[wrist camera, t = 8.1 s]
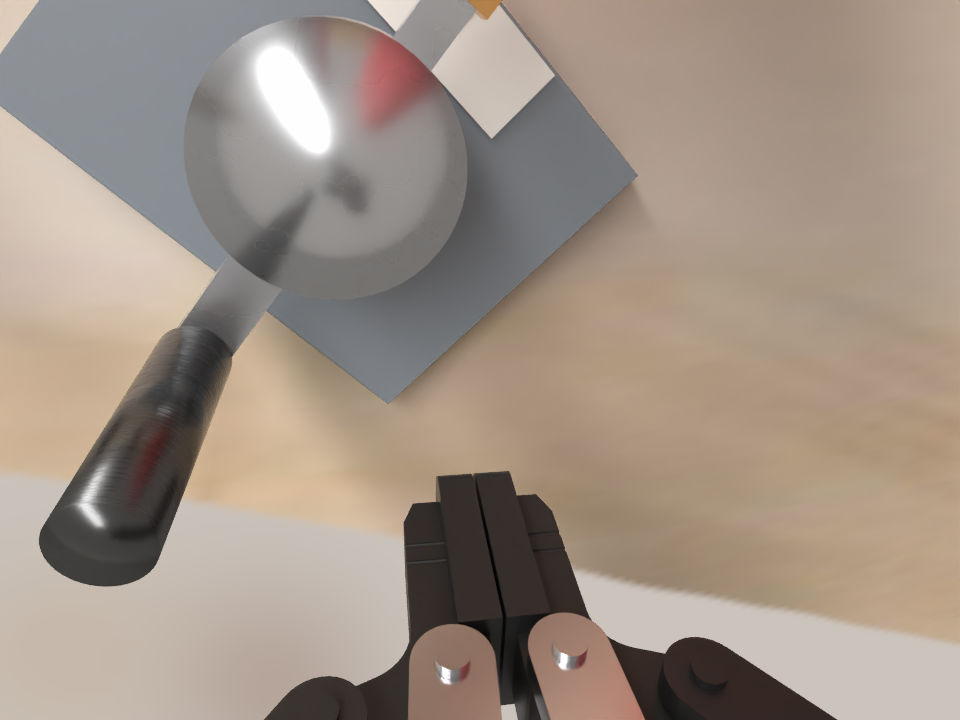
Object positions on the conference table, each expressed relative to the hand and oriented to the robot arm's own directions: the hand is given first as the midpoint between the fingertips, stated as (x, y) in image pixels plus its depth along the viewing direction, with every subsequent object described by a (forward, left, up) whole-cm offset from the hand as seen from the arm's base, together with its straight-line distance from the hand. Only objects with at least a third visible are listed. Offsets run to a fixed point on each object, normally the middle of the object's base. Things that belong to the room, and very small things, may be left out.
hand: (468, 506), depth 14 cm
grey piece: (-2, -6, -6) cm, 9 cm away
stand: (-2, -6, -10) cm, 12 cm away
